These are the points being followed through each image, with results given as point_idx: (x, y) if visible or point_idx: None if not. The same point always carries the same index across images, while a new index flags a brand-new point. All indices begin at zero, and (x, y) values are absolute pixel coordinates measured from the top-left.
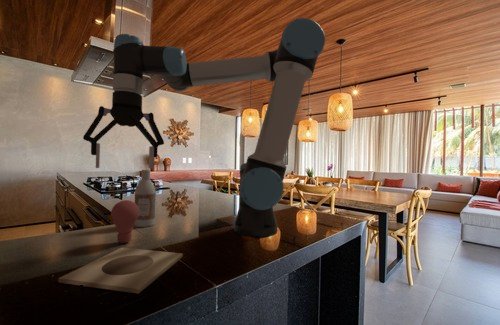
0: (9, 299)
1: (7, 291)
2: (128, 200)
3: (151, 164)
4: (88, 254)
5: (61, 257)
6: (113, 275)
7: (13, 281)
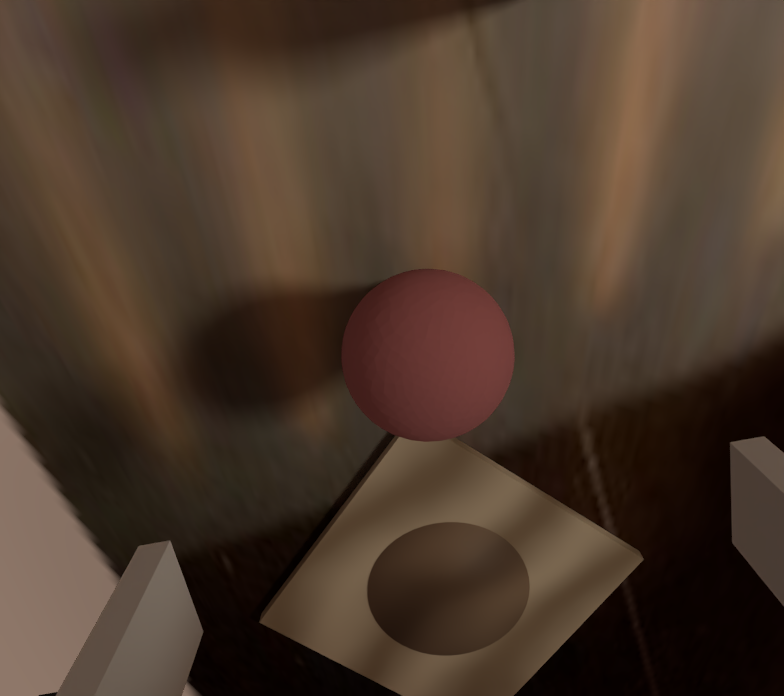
0: None
1: None
2: (452, 385)
3: (767, 572)
4: (284, 413)
5: (188, 413)
6: (409, 649)
7: None
